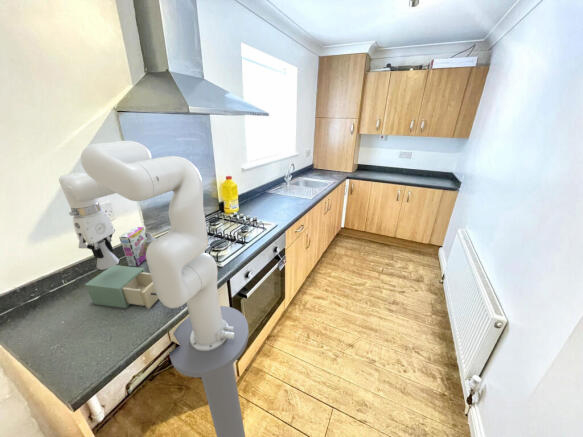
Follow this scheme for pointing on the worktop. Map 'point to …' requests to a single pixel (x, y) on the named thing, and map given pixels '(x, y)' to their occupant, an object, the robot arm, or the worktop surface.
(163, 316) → the worktop surface
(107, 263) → the flask
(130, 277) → the cabinet
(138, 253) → the candy bar box
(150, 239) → the squeeze bottle
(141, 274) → the drawer
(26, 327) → the worktop surface
